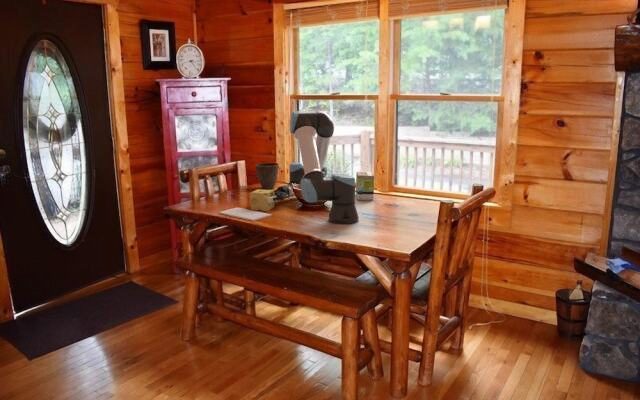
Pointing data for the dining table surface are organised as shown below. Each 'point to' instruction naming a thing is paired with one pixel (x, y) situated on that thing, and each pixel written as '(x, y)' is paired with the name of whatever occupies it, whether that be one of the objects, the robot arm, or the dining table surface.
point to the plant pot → (267, 174)
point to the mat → (245, 214)
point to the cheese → (261, 200)
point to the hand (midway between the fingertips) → (259, 198)
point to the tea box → (365, 185)
